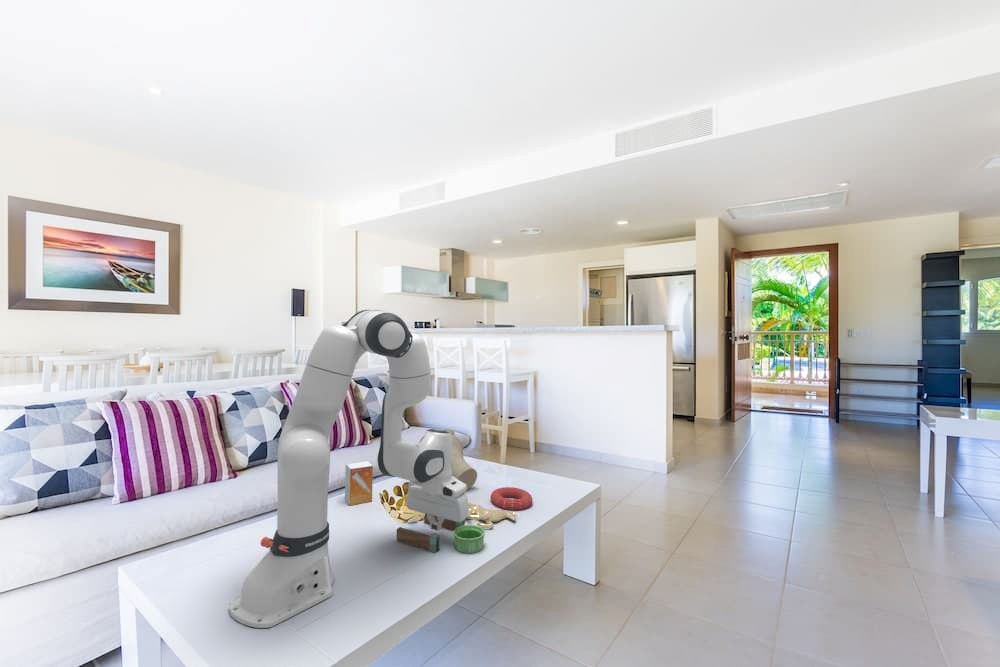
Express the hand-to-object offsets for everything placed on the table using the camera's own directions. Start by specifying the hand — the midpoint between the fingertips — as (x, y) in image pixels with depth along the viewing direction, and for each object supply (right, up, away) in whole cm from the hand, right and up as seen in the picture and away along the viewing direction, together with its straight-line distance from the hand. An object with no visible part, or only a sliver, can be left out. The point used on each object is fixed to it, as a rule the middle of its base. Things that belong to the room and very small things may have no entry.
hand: (435, 529), depth 133 cm
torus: (+23, -3, +28) cm, 36 cm away
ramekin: (+10, -3, -5) cm, 12 cm away
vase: (-1, -2, +45) cm, 45 cm away
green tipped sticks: (-2, -2, +1) cm, 3 cm away
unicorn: (+14, -3, +15) cm, 20 cm away
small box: (-31, -2, +26) cm, 41 cm away
